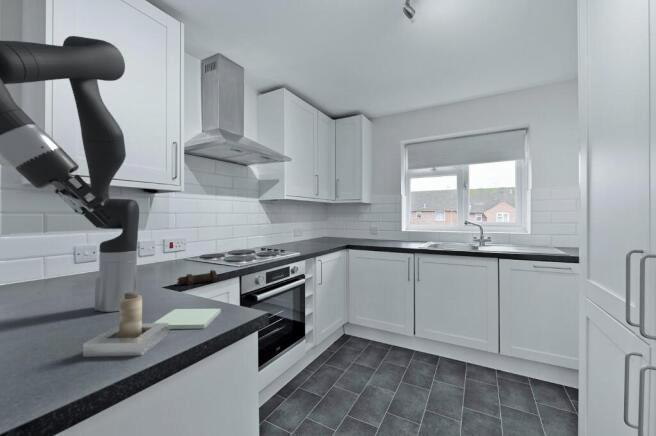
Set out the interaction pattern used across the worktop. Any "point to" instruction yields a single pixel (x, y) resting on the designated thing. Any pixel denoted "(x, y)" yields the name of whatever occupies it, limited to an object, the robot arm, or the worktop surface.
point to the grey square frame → (126, 341)
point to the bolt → (198, 278)
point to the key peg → (130, 315)
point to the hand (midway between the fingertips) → (107, 224)
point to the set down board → (189, 318)
